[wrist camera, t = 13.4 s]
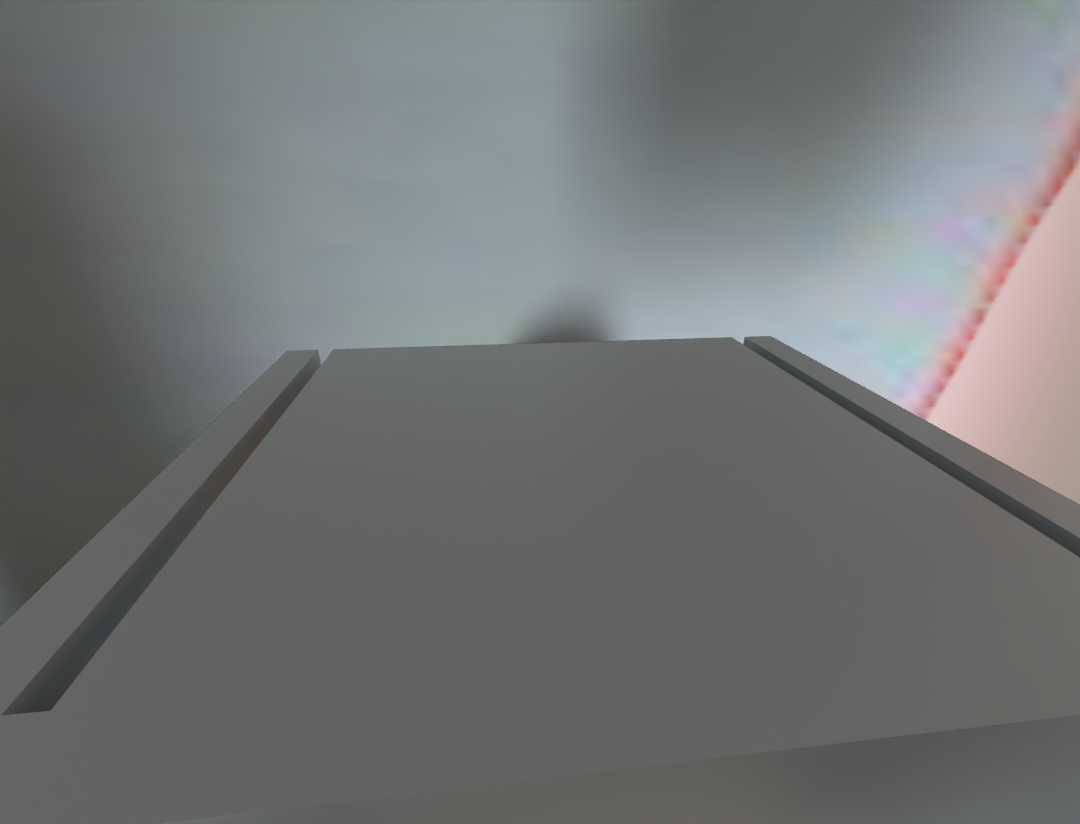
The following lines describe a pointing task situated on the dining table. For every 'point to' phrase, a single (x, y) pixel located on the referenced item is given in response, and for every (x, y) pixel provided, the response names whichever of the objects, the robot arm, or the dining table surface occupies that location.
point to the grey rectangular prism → (558, 607)
